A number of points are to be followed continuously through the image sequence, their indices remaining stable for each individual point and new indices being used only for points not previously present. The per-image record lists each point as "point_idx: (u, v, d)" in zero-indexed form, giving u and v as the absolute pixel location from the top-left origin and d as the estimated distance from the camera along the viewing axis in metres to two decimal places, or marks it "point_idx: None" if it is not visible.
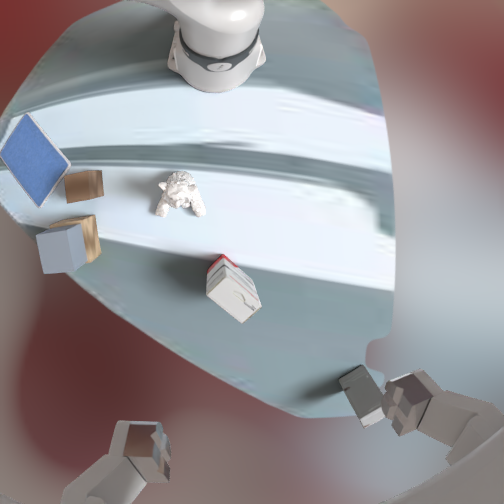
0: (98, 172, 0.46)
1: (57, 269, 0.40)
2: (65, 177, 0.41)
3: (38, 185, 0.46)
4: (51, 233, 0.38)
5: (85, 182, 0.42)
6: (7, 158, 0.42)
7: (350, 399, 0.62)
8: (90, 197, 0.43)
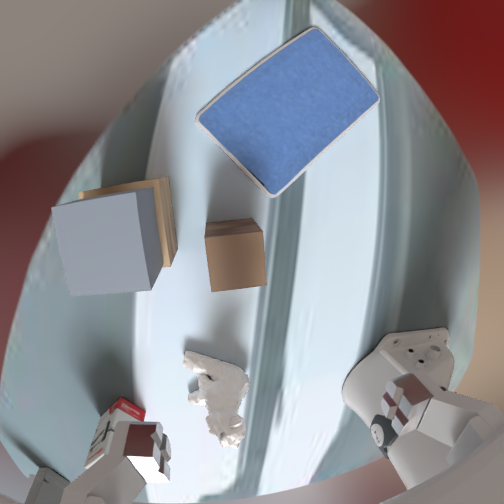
0: None
1: (65, 251, 0.18)
2: (258, 235, 0.25)
3: (241, 118, 0.28)
4: (140, 245, 0.19)
5: (245, 281, 0.26)
6: (304, 45, 0.26)
7: (40, 489, 0.33)
8: None
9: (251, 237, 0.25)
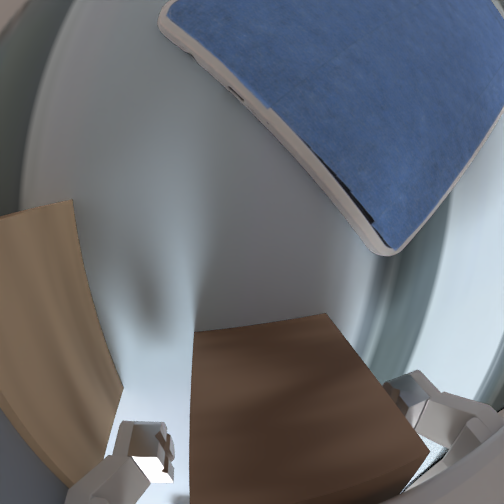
0: None
1: None
2: (411, 466, 0.04)
3: (304, 15, 0.07)
4: None
5: None
6: None
7: None
8: None
9: (386, 479, 0.04)
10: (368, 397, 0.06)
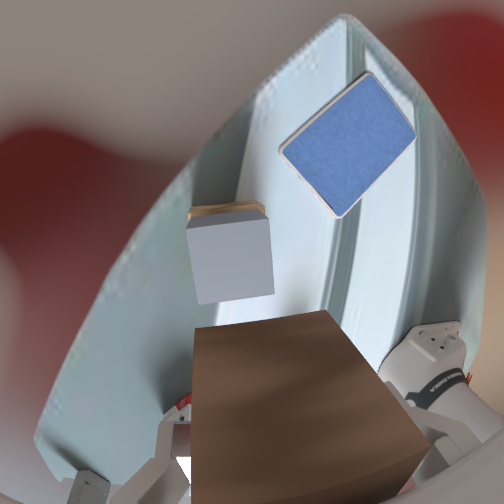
0: None
1: (198, 266, 0.24)
2: (412, 460, 0.04)
3: (316, 153, 0.34)
4: (270, 260, 0.25)
5: None
6: (362, 90, 0.32)
7: (82, 492, 0.40)
8: None
9: (387, 473, 0.04)
10: (369, 392, 0.06)
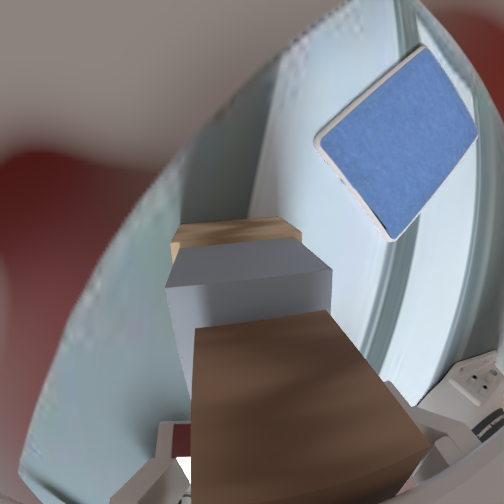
0: None
1: (191, 354, 0.12)
2: (411, 460, 0.04)
3: (367, 147, 0.22)
4: None
5: None
6: (420, 67, 0.20)
7: None
8: None
9: (387, 472, 0.04)
10: (368, 391, 0.06)
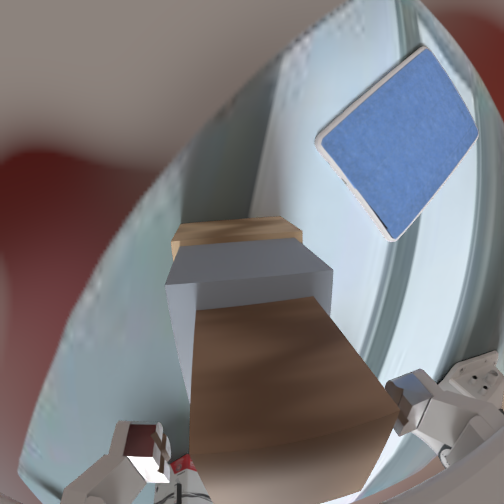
0: None
1: (190, 353, 0.12)
2: (383, 423, 0.05)
3: (368, 147, 0.22)
4: None
5: (313, 500, 0.06)
6: (421, 67, 0.20)
7: None
8: None
9: (361, 433, 0.05)
10: (346, 363, 0.08)
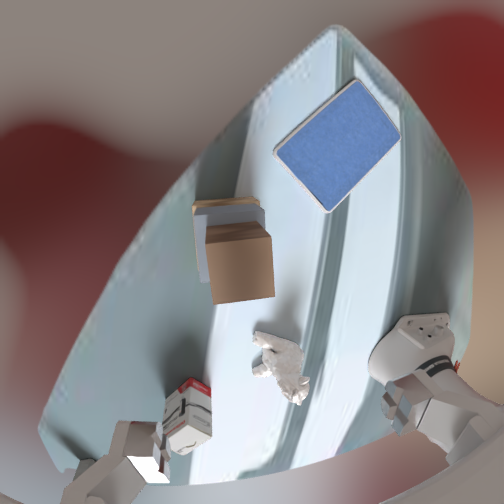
0: None
1: (202, 248, 0.28)
2: (266, 241, 0.22)
3: (307, 154, 0.38)
4: None
5: (251, 293, 0.23)
6: (350, 96, 0.36)
7: None
8: None
9: (258, 243, 0.22)
10: (259, 231, 0.24)
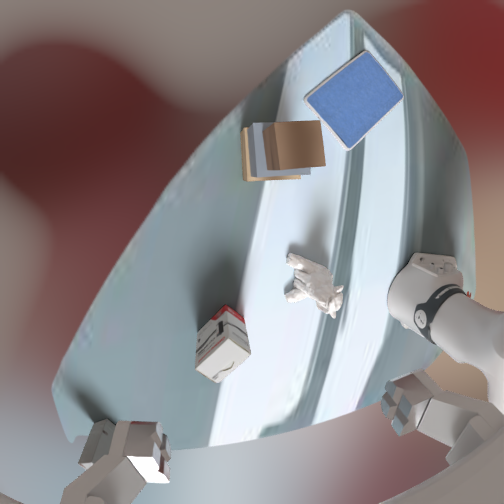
0: None
1: (259, 148, 0.34)
2: (316, 123, 0.27)
3: (330, 102, 0.44)
4: None
5: (308, 161, 0.28)
6: (362, 62, 0.42)
7: (99, 442, 0.49)
8: (282, 169, 0.28)
9: (311, 124, 0.27)
10: None
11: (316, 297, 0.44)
